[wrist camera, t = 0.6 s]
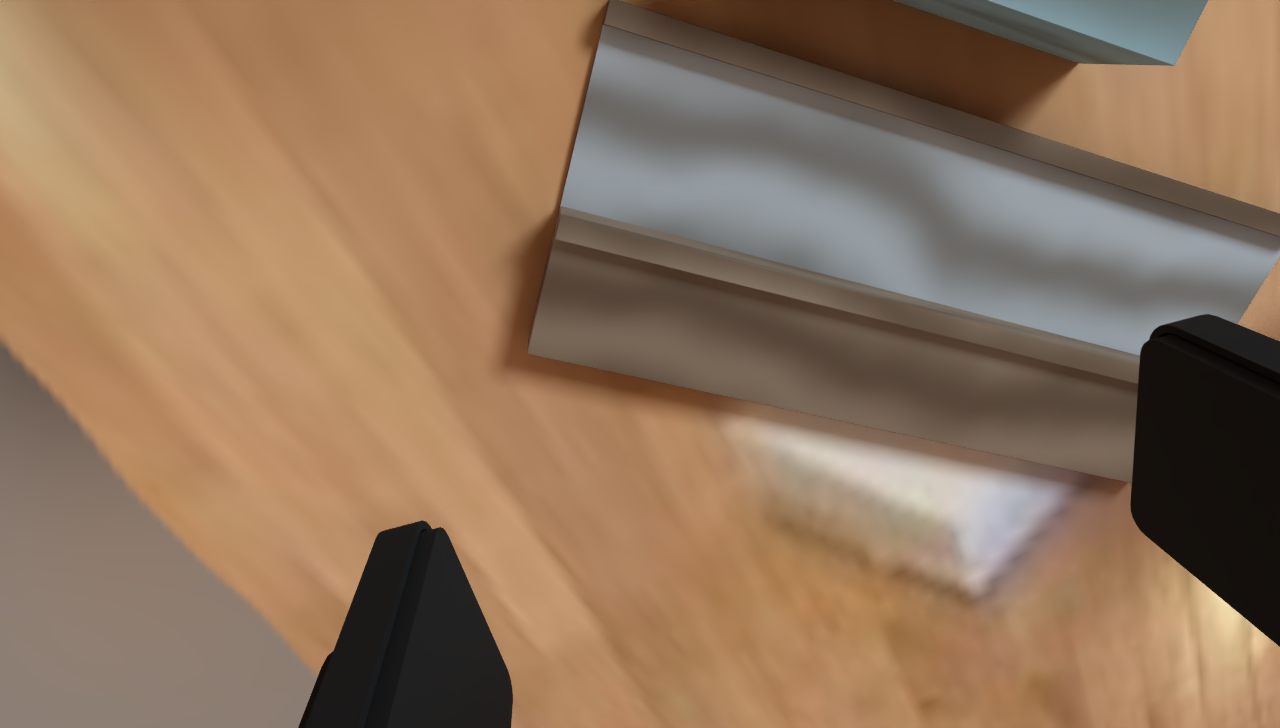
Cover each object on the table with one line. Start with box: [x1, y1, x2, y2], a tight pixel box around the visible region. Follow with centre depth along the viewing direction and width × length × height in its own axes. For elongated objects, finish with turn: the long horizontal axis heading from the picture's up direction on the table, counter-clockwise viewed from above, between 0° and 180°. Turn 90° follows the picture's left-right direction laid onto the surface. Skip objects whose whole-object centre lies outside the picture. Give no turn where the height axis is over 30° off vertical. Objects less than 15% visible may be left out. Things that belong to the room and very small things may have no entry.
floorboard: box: [527, 0, 1280, 483], centre depth 36 cm, size 16×38×3 cm, turn 74°
